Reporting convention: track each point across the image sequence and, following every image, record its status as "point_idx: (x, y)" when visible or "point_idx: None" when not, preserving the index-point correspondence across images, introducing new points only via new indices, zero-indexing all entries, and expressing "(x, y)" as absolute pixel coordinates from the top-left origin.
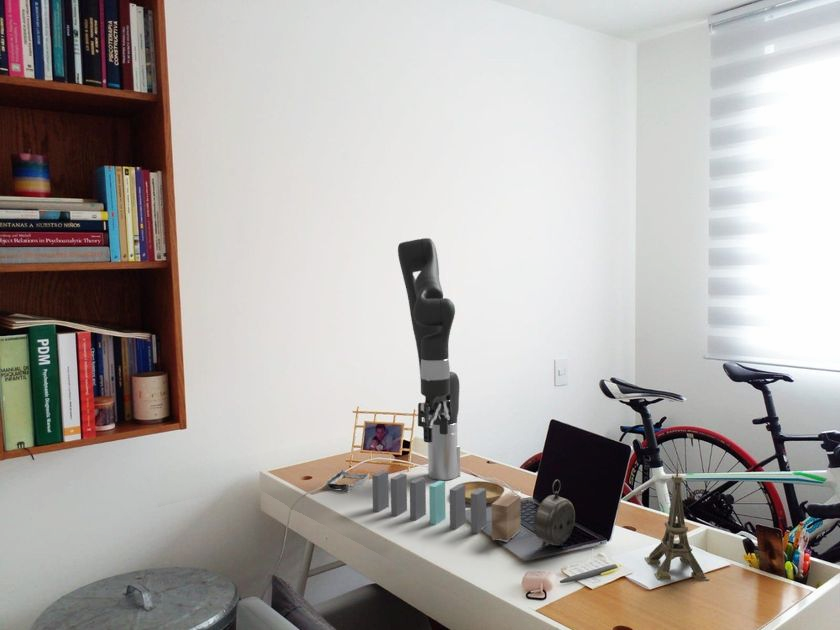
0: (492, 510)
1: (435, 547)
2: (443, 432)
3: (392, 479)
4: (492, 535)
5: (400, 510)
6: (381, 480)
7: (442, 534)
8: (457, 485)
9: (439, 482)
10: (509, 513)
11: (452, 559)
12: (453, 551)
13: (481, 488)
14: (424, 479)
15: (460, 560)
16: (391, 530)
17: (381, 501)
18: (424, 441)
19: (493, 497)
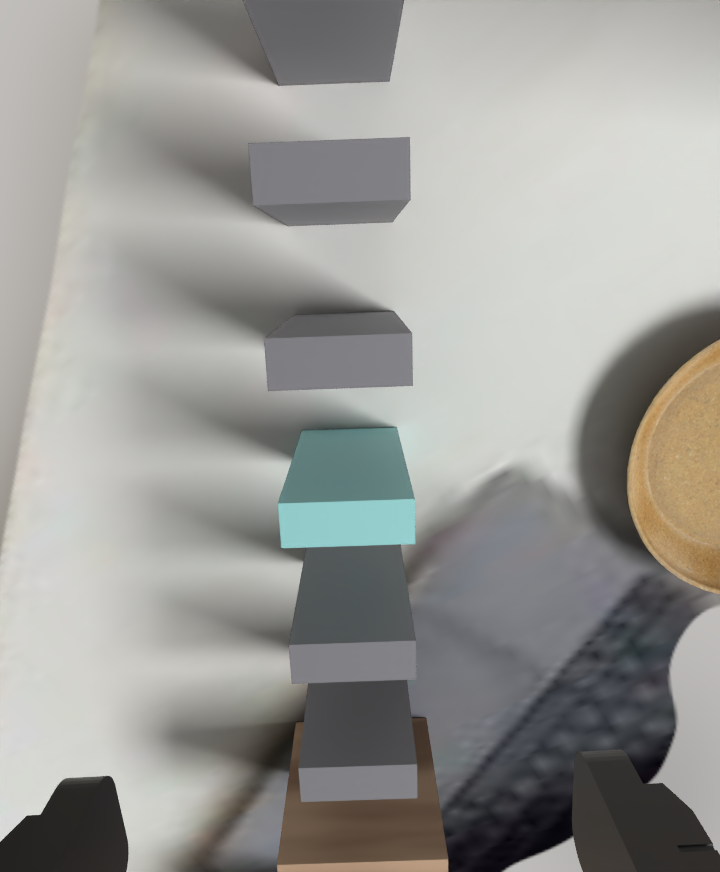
0: (281, 835)
1: (99, 586)
2: (584, 820)
3: (250, 164)
4: (294, 737)
5: (323, 223)
6: (300, 6)
7: (227, 543)
8: (383, 646)
9: (375, 524)
10: None
11: (55, 688)
12: (115, 658)
13: (409, 776)
14: (397, 385)
15: (67, 713)
16: (120, 319)
17: (307, 66)
18: (67, 783)
19: (687, 581)
